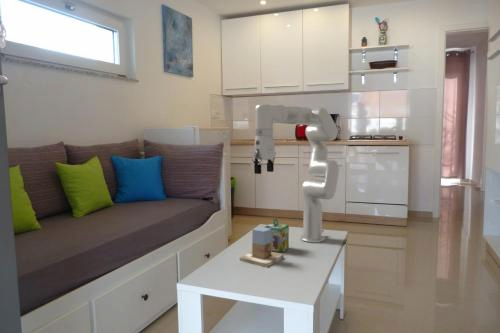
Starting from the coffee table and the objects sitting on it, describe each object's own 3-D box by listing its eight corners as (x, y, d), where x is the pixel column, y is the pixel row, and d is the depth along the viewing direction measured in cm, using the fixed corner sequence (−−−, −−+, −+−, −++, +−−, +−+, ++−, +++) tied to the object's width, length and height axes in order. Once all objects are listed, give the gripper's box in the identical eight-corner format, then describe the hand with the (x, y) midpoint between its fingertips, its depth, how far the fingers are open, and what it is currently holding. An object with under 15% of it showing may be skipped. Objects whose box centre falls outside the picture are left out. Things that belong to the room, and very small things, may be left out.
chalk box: (281, 253, 171) (281, 222, 170) (264, 250, 176) (264, 219, 174) (289, 247, 179) (289, 217, 178) (272, 245, 184) (272, 215, 182)
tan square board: (257, 252, 173) (257, 248, 173) (283, 257, 165) (283, 254, 165) (239, 260, 162) (239, 257, 162) (266, 267, 154) (266, 263, 153)
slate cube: (260, 239, 167) (260, 226, 166) (271, 241, 163) (271, 228, 163) (252, 242, 162) (252, 229, 162) (263, 245, 159) (263, 231, 158)
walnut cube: (260, 252, 167) (259, 239, 167) (271, 255, 164) (271, 242, 163) (252, 256, 163) (252, 243, 162) (263, 259, 159) (263, 245, 159)
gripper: (260, 133, 151) (260, 175, 152) (281, 133, 165) (281, 171, 166) (245, 133, 155) (245, 174, 157) (267, 133, 169) (267, 170, 171)
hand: (264, 172), depth 161 cm, fingers open, 9 cm apart
